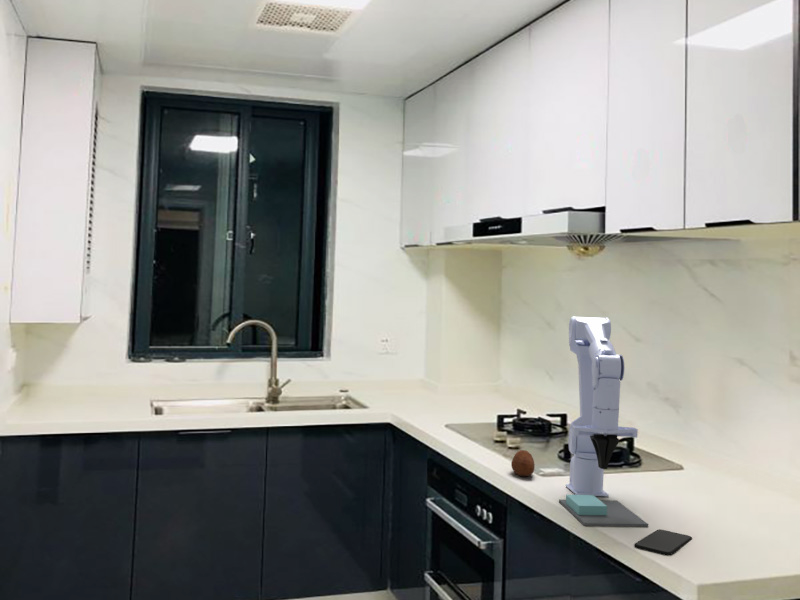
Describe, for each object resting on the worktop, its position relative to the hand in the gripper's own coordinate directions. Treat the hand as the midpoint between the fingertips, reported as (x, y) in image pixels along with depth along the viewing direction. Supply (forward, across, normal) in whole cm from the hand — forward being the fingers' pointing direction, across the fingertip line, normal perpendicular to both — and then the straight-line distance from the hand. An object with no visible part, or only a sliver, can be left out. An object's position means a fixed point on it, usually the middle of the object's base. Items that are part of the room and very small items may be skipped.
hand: (602, 467), depth 177 cm
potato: (+10, -10, +33) cm, 36 cm away
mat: (+10, 0, -2) cm, 10 cm away
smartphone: (+10, +6, -21) cm, 24 cm away
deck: (+8, -1, -1) cm, 8 cm away
